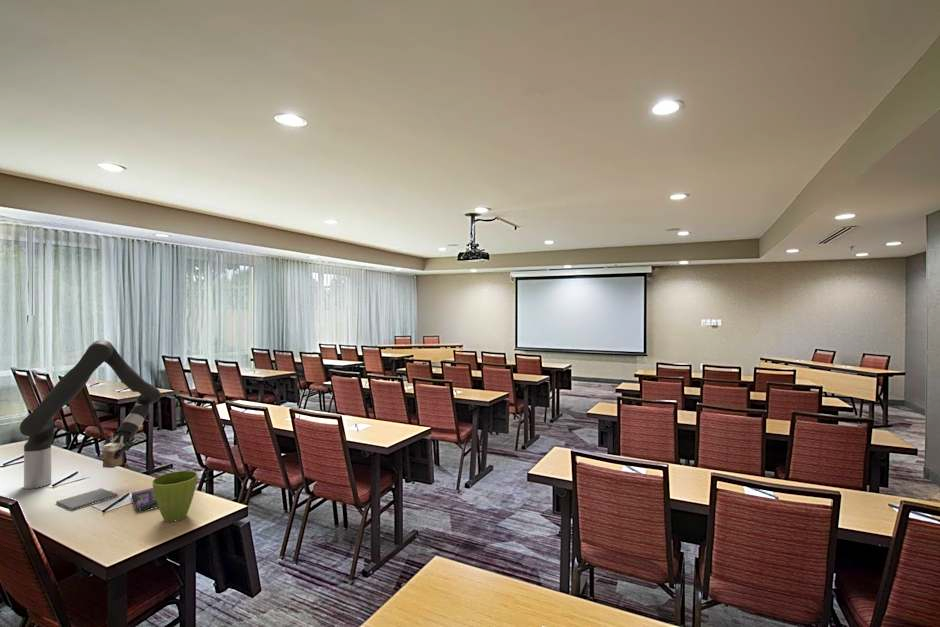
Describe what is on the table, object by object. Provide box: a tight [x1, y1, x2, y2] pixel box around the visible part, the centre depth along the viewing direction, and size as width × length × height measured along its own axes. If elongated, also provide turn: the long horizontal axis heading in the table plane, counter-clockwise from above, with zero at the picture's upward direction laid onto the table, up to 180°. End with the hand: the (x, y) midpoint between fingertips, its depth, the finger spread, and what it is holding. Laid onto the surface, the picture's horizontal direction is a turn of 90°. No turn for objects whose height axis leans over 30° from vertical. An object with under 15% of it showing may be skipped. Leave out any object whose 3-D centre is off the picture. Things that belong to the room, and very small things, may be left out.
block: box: [102, 443, 123, 469], centre depth 207 cm, size 5×5×10 cm
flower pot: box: [152, 470, 199, 522], centre depth 177 cm, size 15×15×16 cm
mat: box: [55, 487, 118, 511], centre depth 193 cm, size 14×16×1 cm
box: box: [131, 487, 158, 513], centre depth 193 cm, size 14×4×20 cm
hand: (109, 458), depth 205 cm, fingers closed on block, 5 cm apart
